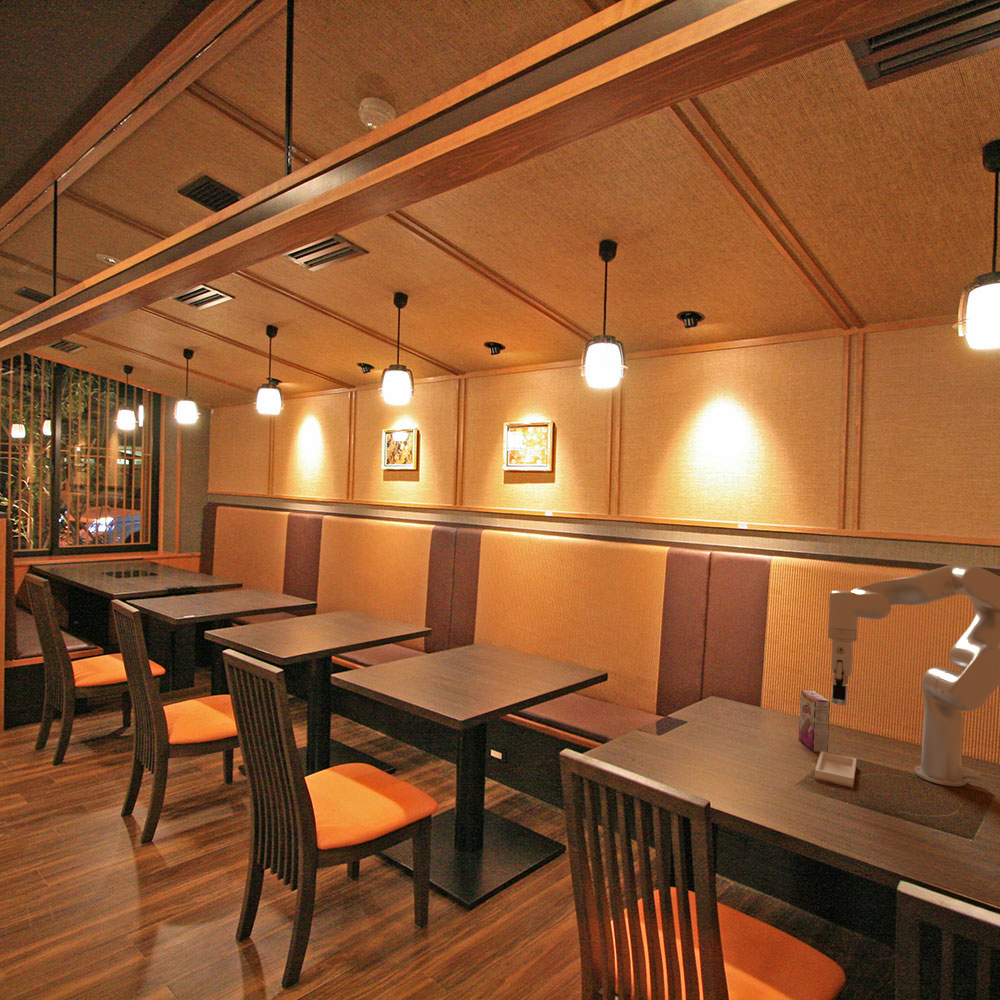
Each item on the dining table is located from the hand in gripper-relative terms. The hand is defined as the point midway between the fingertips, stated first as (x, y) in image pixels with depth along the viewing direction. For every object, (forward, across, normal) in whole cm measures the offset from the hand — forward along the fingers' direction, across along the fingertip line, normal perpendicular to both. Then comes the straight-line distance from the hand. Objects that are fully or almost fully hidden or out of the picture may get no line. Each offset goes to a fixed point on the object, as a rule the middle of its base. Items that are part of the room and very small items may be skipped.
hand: (839, 696), depth 195 cm
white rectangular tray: (+22, 0, 0) cm, 22 cm away
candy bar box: (+22, +20, +8) cm, 31 cm away
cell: (+2, 0, 0) cm, 2 cm away
